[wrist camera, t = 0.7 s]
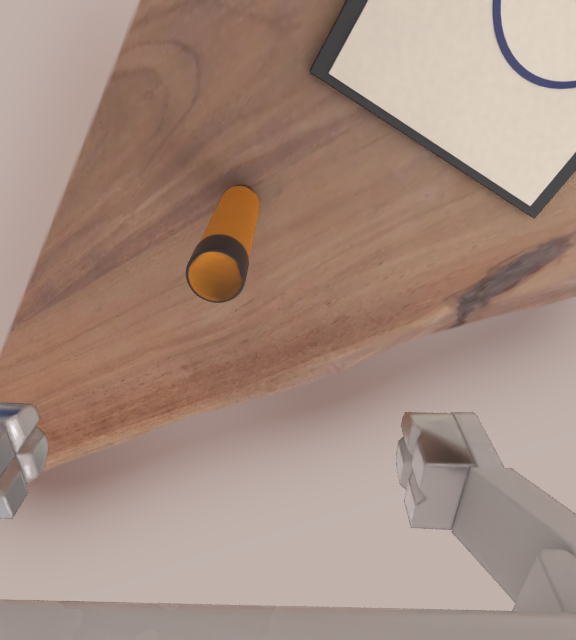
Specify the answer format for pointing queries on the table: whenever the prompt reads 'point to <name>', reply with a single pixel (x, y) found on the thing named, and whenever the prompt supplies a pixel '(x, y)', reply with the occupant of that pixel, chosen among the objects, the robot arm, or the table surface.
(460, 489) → the robot arm
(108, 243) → the table surface
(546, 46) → the circle
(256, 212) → the marker
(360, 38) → the clipboard
